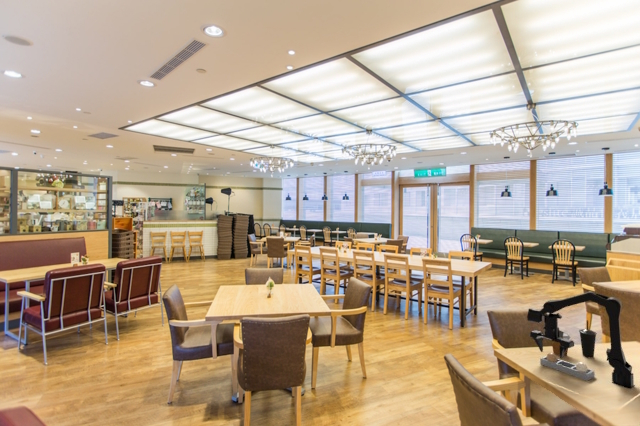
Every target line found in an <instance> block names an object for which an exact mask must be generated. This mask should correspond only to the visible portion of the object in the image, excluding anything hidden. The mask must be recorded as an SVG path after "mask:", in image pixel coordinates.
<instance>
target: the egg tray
mask: <svg viewBox="0 0 640 426" xmlns="http://www.w3.org/2000/svg"><path fill="white" fill-rule="evenodd" d="M539 359H540V361H539V363H540V365H542V366H545V367H547V368H551V369H553V370H557V371H559V372H562V373H564V374H567V375H570V376H572V377H576V378H579V379H581V380H584V381H590V380H591V379H593V378H595V376H596V375H595V370H593V369H590V368H587V373H583V372H581V371H578V370H576V363H575V364H574V363H571V362H569V361H565V360H562V359H561V358H560V359H559V358H557V362H556V363H554V362H551V361H548V360H547V355H546V356H542V357H540V358H539Z"/></svg>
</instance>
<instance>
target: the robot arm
mask: <svg viewBox="0 0 640 426" xmlns="http://www.w3.org/2000/svg"><path fill="white" fill-rule="evenodd" d="M589 301H590V302H593V303H595V304H597V305H600V306H601V307H604V308H605V311H606V313H607V314H606V315H607V316H608V324H609V326H608V328H609V338H610V340H609V342H610V348H607V349H606V350H605V353H606V356H607V357H606V362H607V361H608V365H609V366H610V367H612V368H613V371H612V372H611V381H612V382H611V383H612V384H614V385H616V386H620V387H623V388H626V389H628V390H631V389H633V388H634V387H635V386H636V384H634V382H635V381H634V373H633V365H631V364H630V363H629V362H628V361H627V359H626V356H625V353H624V350H623V347H622V335H621V334H622V333H621V322H620V320H621V319H620V317H621V311H622V305H623V304H622V301H621V299H619V298H617V297H614V296H610V297H609V296H607V295H605V294H601V293H597V292H594V291H591V290H589V291H587V292H583V293H581V294H576V295H573V296H570V297H569V296H568V297H566V298H562V299H560V298H559V299H550V300H547V301H545V303H543V306H542V308H541V309H533V308H531V307H530V308H528V311H527V316H526V320H527V321H528V322H533V323H539V324H541V323H542V322H543V324H544V326H542V329H543V330H544V333H543V332H542V331H540V330H537V329H535V330H532V331H530V332H529V337H530V338H531V339H532V340H534V342H535V343H536V345H537V347H538V349H539V351H540V352H541V353H543V352H544V351H543V350H544V343H543V341H544V339H545V340H547V341H551V340H552V341H555V342H558V343H560V345H561V346H559V347H560V355H559V357H560V360H562V359H563V357H564V356H563V355H564V353H565V351H566V349H567V348H568V349H570V348H573V347H575V342H574V340H572V339H566V338H565V339H558V338H560V337H561V338H563V333H564V332H565V331H562V330H560V327H559V326H558V323H559V321H558V320H561V319H562V318H563V315H561V314H560V313H559V311H560V310H563V309H565V308H568V307H570V306H574V305H579V304H581V303H582V304H583V303H585V302H586V303H587V302H589ZM554 339H555V340H554ZM552 341H551V342H552Z"/></svg>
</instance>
